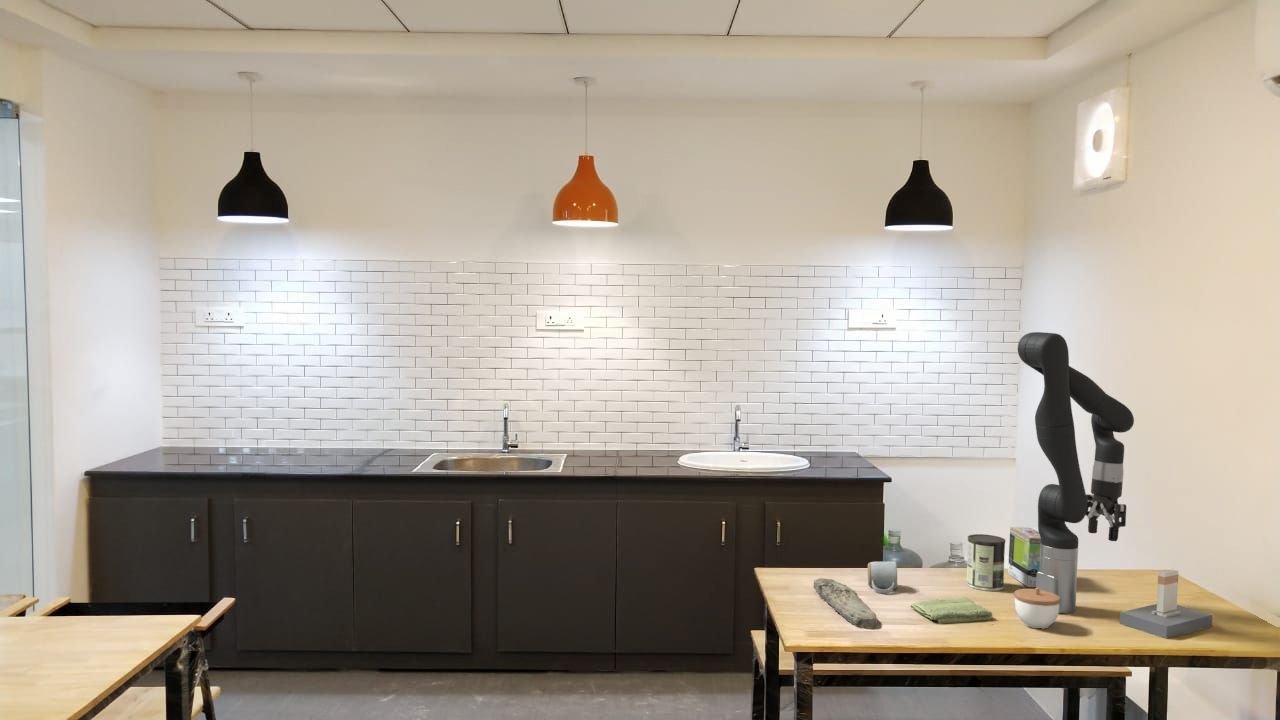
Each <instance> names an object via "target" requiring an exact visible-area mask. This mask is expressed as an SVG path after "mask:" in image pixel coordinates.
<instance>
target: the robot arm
mask: <svg viewBox="0 0 1280 720" xmlns="http://www.w3.org/2000/svg"><path fill="white" fill-rule="evenodd" d="M1017 353H1018V356H1019V359H1020V360H1021V361H1022V362H1023V363H1024V364H1025V365H1026V366H1029V367H1030V368H1031V369H1033V370H1035V372H1038V373H1040V374H1041V375H1042V376H1043V382H1044V388H1043V393H1042V396H1041V399H1040V401H1039V404H1038V406H1037V408H1036V411H1035V416H1034V422H1035V423H1034V424H1035V430H1036V439H1037V442H1038V445H1039V447H1040V448H1041V450H1042V452H1043V454H1044V456H1046V458H1047V460H1048V461H1049V463H1050V464H1051V466H1052V467H1053V469H1054V472H1055V474H1056V476H1057V480H1058V484H1055V483H1049V484H1046V485H1045V486H1044V487H1043V488H1042V489H1041V491H1040V493H1039V495H1038V499H1037V500H1038V501H1037V528H1038V531H1039V535H1040V537H1041V548H1040V571H1039V572H1037V577H1036V588H1039V589H1040V590H1044V591H1048V592H1051V593H1054V594H1056V595H1058V596H1059V597H1060V604H1059V613H1058V614H1072V613H1075V612H1076V609H1077V608H1076V606H1077V604H1076V603H1077V584H1078V581H1077V579H1078V559H1079V558H1078V557H1079V537H1078V535H1076V533H1074V532H1073V531H1071V530H1070V529H1069V527H1068V526H1067V524H1066V523H1069V524H1079V523H1080V522H1082V521H1083V519H1085V517H1087V519H1088V525H1087V526H1088V527H1087V531H1088V533H1090V534H1097V532H1098V521H1099V520H1098V519H1099V518H1100V516H1103V517H1105V520H1107V522H1108V524H1109V527H1108V536H1107V537H1108V541H1111V542H1117V541H1118V540H1119V539H1118V538H1119V532H1120V531H1119V530H1120V529H1119V528H1123V527H1126V521H1127V504H1124V503H1123V504H1122V503H1119V502H1118V500H1119V498H1121V497H1122V495H1123V494H1122V493H1123V482H1124V459H1125V458H1124V457H1125V444H1124V443H1123V442H1121V441H1120V440H1118V439H1117V438H1115V434H1114V433H1120V434H1121V433H1127V432H1128V431H1130V430H1131V429H1132V428H1133V426H1134V422H1135V418H1134V415H1133V412H1132V411H1131V409H1129V407H1128V406H1126V405H1125V404H1123V402H1121V401H1119V400H1117V398H1114V397H1112V396H1111V395H1109V394H1108V393H1106V392H1105V391H1104V389H1102V387H1100V386H1099V384H1097V383H1096V382H1095V381H1094V380H1093V379H1091V378H1090V377H1089V376H1087V375H1086V374H1084V373H1082V372H1081V371H1079V370H1077V369H1075V368H1073V367H1072V366H1070V358H1069V357H1070V356H1069V355H1070V353H1069V347H1068V343H1067V341H1066V340H1065V337H1064V336H1062V335H1061V334H1059V333H1055V332H1040V331H1035V332H1028V333H1025V334H1024V335H1023V336H1022V337H1021V338H1020V340H1019V341H1018V344H1017ZM1071 399H1072V400H1073V401H1074V402H1075V403H1076V404H1078V405H1079V406H1080V408H1081V409H1083V410H1084V411H1085V412H1087V413H1088V414H1091V421H1090V423H1091V429H1092V434H1093V439H1094V444H1095V451H1094V452H1095V454H1094V461H1093V466H1092V472H1091V473H1092V474H1091V485H1090V493H1091V494H1087V493H1086V489H1085V486H1084V485H1085V484H1084V480H1083V476H1082V471H1081V468H1080V462H1079V454H1078V451H1077V450H1078V449H1077V442H1076V430H1075V423H1074V416H1073V410H1072V400H1071ZM1120 518H1121V519H1120Z"/></svg>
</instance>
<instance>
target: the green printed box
mask: <svg viewBox="0 0 1280 720" xmlns="http://www.w3.org/2000/svg"><path fill="white" fill-rule="evenodd" d="M1040 548H1041V537H1040V535H1039V531H1038V527H1022V526H1021V527H1019V526H1017V527H1016V526H1012V527H1011V526H1010V529H1009V545H1008V564H1007V566H1008V567H1007V568H1008V569H1007V574H1009V575H1010V576H1011V577H1013V578H1014V579H1016V580H1017V581H1019V582H1020V583H1022V584H1023V585H1024V586H1026V587H1027V588H1035V587H1036V577H1037V572H1039V571H1040Z"/></svg>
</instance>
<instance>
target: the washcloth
mask: <svg viewBox="0 0 1280 720" xmlns="http://www.w3.org/2000/svg"><path fill="white" fill-rule="evenodd" d="M910 608H911V609H912V610H913V611H916V612H917V613H919V614H920V615H922V616H924V617H925V618H929V619H930V620H933V621H934V622H935V623H937V624H939V625H943V624H956V623H957V624H958V623H968V622H979V621H988V620H990V619H992V617H993V613H992V611H990V610H988V609H986V608H985V607H983V606H981V605H979V604H976V603H975V601H973V600H971V599H970V598H968V597H967V596H966V597H965V596H959V597H955V598H941V599H932V600H931V599H930V600H920V601H919V600H918V601H916V602H914V603H912V604H910Z"/></svg>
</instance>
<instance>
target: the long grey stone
mask: <svg viewBox="0 0 1280 720" xmlns="http://www.w3.org/2000/svg"><path fill="white" fill-rule="evenodd" d="M812 585H813V586H812V587H813V588H814V590H815V591H816V592H817V594H818V595H819V596H820V598H819V599H820V600H823V601H824V602H826V603H827V604H829V606H831V607H832V608H834V611H836V612H838V613H839V614H840V615H841V616H842V617H843V618H844V619H845V620H846V621H847V622H849V623H850V624H853V625H854V626H857V627H859V628H863V629H873V628H876V627H877V624H878V618H877V615H876V613H875V612H874V611H873V610H872V609H871V608H870V607H869V606H868V605H867V604H866V603H865V602H864V601H863V600H862V599H861V598H860V597H859V596H858V593H857V592H856V590H854V589H852V588H850V587H849V586H847V585H846V584H843V583H841V582H839V581H837V580H834V579H831V578H825V577H824V578H822V577H820V578H817V579H814V580H813V584H812Z"/></svg>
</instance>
